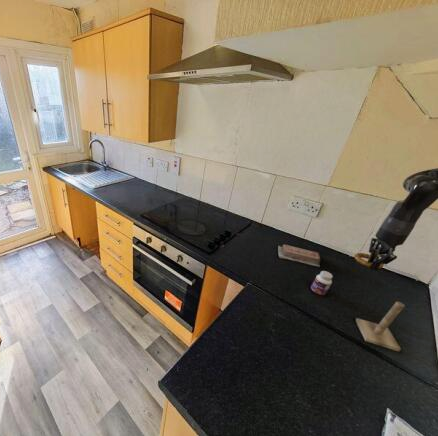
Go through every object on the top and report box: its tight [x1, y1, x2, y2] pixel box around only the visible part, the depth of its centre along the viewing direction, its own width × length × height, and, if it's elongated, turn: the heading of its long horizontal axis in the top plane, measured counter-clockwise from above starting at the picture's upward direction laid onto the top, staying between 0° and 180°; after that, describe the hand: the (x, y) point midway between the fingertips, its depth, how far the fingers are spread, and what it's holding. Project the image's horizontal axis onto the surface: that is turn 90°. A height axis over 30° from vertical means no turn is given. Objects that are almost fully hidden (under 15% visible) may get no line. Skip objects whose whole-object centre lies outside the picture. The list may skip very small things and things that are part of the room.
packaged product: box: [277, 244, 321, 268], centre depth 117 cm, size 18×5×10 cm
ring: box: [353, 252, 385, 269], centre depth 91 cm, size 9×9×2 cm
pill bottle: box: [310, 270, 334, 296], centre depth 94 cm, size 5×5×10 cm
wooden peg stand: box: [354, 301, 406, 352], centre depth 75 cm, size 9×9×16 cm
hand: (371, 266), depth 89 cm, fingers closed on ring, 2 cm apart
